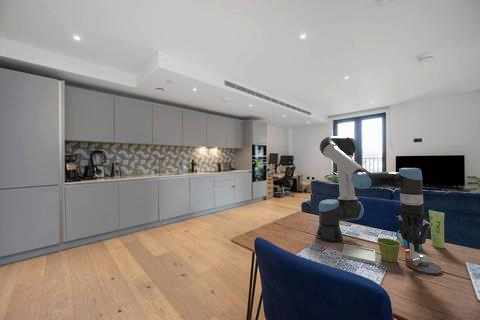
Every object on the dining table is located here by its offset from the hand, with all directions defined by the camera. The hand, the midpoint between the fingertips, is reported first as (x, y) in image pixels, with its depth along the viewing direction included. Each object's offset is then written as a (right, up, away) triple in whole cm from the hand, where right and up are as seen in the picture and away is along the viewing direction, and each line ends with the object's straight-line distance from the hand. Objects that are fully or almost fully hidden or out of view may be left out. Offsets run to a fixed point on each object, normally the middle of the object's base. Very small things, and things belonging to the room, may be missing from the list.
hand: (413, 258), depth 83 cm
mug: (+20, -6, +26) cm, 34 cm away
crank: (+3, -4, +3) cm, 6 cm away
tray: (-14, -6, +16) cm, 22 cm away
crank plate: (+7, -6, +4) cm, 10 cm away
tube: (+34, -6, +24) cm, 42 cm away
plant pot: (-3, -6, +10) cm, 12 cm away
